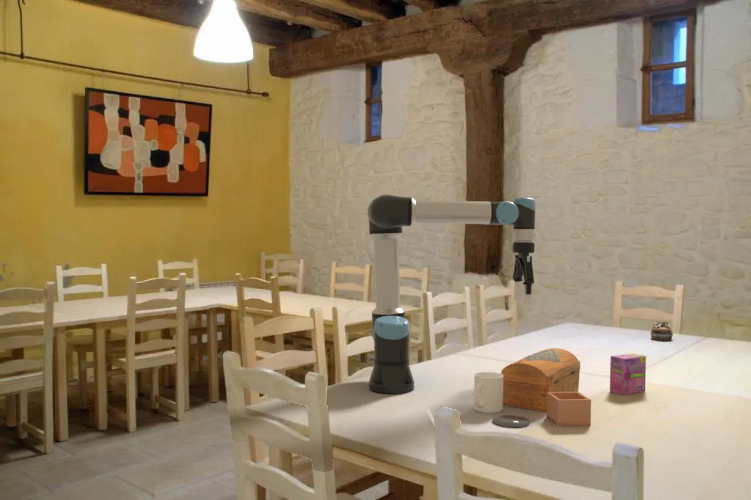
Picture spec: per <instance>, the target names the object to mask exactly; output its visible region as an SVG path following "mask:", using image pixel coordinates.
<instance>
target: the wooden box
mask: <svg viewBox="0 0 751 500" xmlns="http://www.w3.org/2000/svg"><path fill="white" fill-rule="evenodd" d="M580 371H581V361H580V360H579V359H578V358H577V356H576V355H574V353H572V352H571V351H569V350H567V349H563V348H557V347H551V348H545V349H543V350H539V351H537V352H535V353H532V354H529V355H527V356H525V357H523V358H521V359H519V360H516V361H515V362H512V363H510V364H508V365H506V366H504V368H502V370H501V371H500V374H502V375H503V407H504V406H505V407H511V408H518V409H524V410H530V411H537V412H543V413H547V392H579V387H580Z"/></svg>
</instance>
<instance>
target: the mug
mask: <svg viewBox="0 0 751 500" xmlns="http://www.w3.org/2000/svg"><path fill="white" fill-rule="evenodd" d="M473 386H474V390H473V405H474V406H473V407H474V410H475V411H476V412H479V413H481V414H499V413H502V411H503V408H504V405H503V375H502V374H501V373H499V372H495V371H494V372H492V371H483V372H476V373H474V385H473Z"/></svg>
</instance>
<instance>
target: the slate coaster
mask: <svg viewBox="0 0 751 500" xmlns="http://www.w3.org/2000/svg"><path fill="white" fill-rule="evenodd" d="M492 423H493V424H494V425H496V426H499V427H503V428H510V429H511V428H512V429H515V428H518V429H519V428H524V427H528V426H530V425H531V420H530V419H529V418H527V417H525V416H520V415H513V414H511V415H510V414H504V415H501V414H500V415H496V416H494V417H493V418H492Z"/></svg>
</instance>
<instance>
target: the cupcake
mask: <svg viewBox="0 0 751 500" xmlns="http://www.w3.org/2000/svg"><path fill="white" fill-rule="evenodd" d="M673 335H674V334H673V331H672V329H671V325H670V324H669V323H668V322H666V321H663V322H662V321H661V322H660V321H659V322H658V321H656V322H654V325H653V326H652V328H651V331H650V337H651V338H650V339H651V340H653V341H659V342H668V341H669V342H670V341H672V338H673Z"/></svg>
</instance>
